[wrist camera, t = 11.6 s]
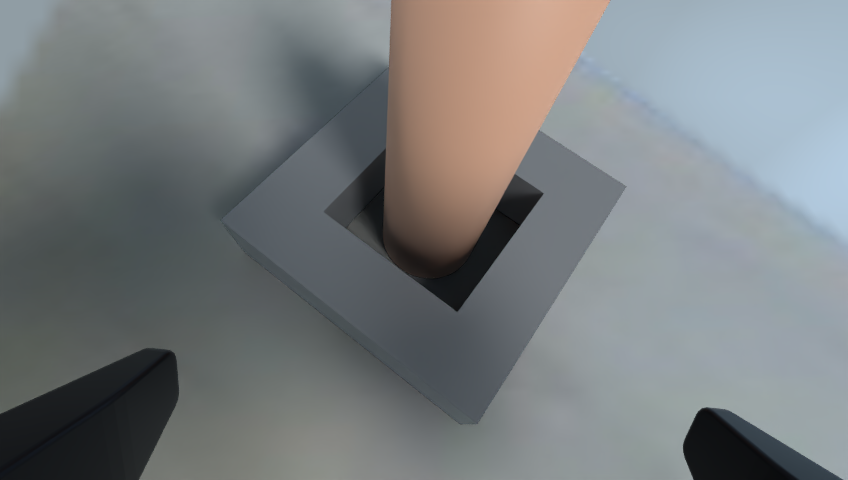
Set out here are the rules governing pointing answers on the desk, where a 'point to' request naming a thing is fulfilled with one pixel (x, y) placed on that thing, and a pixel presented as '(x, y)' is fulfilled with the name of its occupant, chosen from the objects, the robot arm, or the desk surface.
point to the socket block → (392, 288)
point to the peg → (467, 114)
